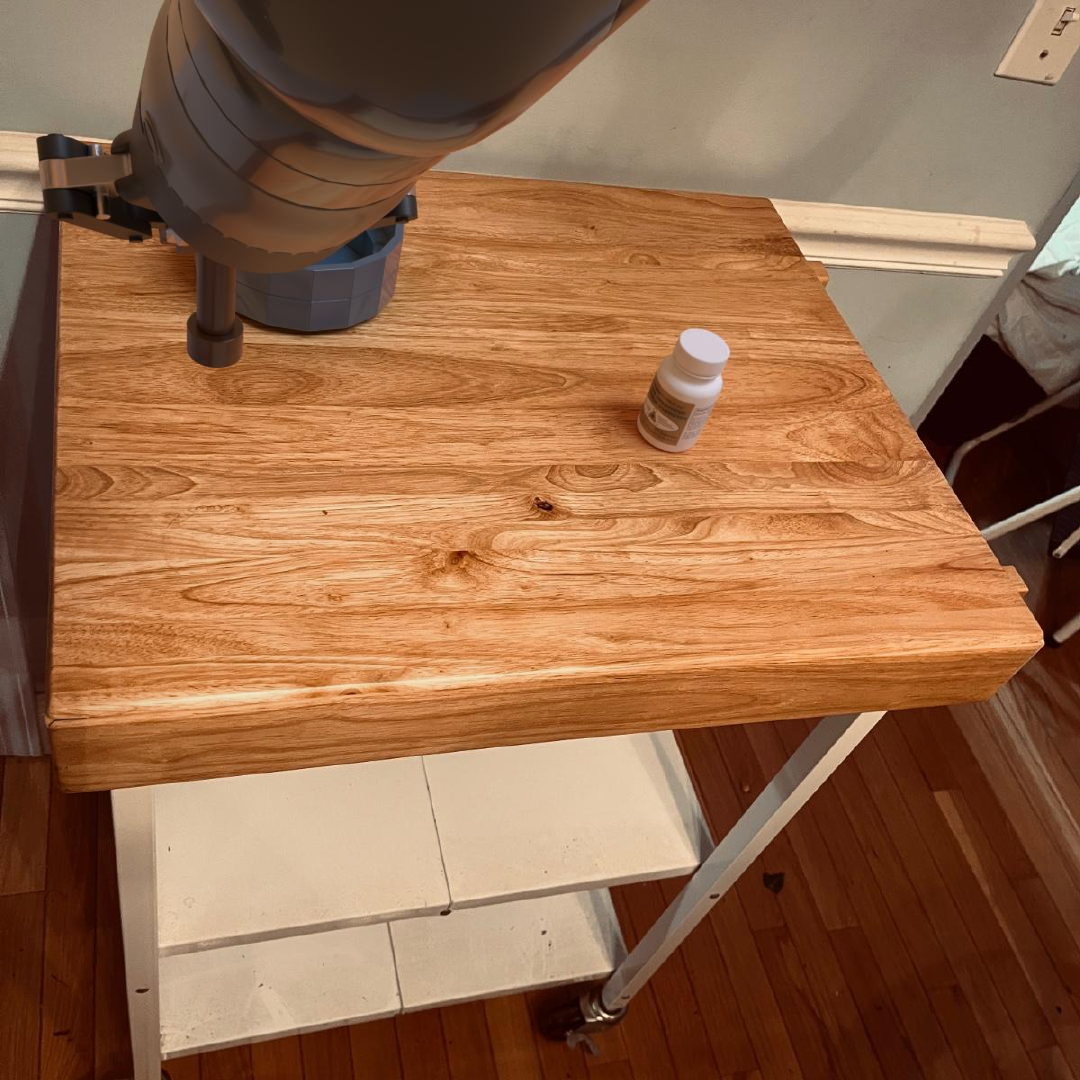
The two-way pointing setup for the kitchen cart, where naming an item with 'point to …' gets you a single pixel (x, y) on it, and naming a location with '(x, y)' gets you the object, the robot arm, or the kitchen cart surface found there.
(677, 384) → the pill bottle
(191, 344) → the brown rubber stamp
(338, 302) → the bowl
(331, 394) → the kitchen cart surface
